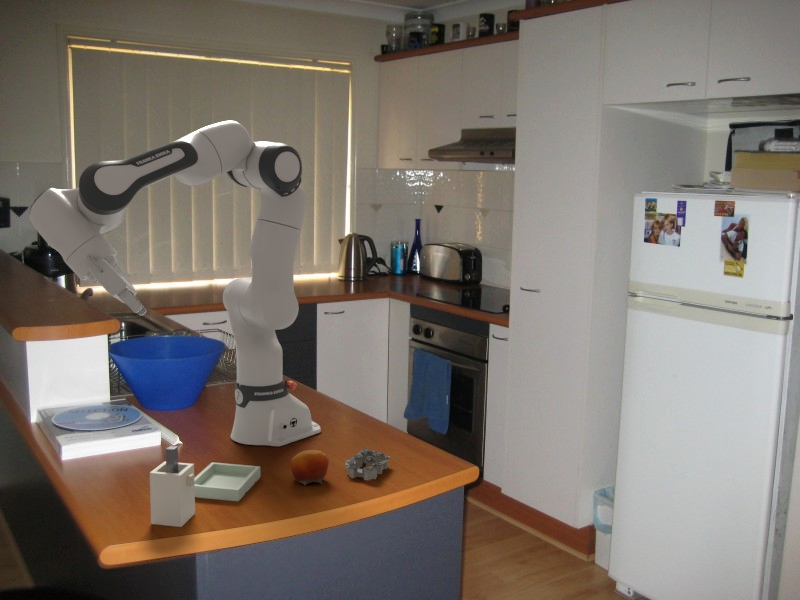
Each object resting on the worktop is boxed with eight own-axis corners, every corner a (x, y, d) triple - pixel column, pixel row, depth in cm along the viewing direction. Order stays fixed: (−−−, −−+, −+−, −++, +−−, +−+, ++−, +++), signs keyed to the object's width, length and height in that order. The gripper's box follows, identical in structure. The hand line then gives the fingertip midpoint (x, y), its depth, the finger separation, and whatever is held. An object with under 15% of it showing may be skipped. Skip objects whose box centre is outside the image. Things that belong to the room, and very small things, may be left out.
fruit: (299, 486, 164) (294, 448, 166) (290, 493, 170) (285, 456, 173) (337, 481, 167) (331, 444, 169) (326, 488, 174) (321, 451, 176)
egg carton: (372, 484, 171) (372, 465, 170) (341, 477, 174) (341, 459, 173) (393, 467, 180) (393, 450, 179) (363, 461, 183) (363, 444, 182)
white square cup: (165, 510, 154) (164, 461, 153) (199, 514, 153) (199, 464, 152) (151, 523, 148) (149, 472, 147) (186, 527, 147) (185, 476, 146)
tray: (212, 472, 174) (211, 462, 173) (260, 477, 172) (260, 466, 172) (186, 496, 161) (186, 485, 161) (238, 501, 159) (238, 490, 159)
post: (171, 516, 152) (169, 446, 150) (179, 517, 152) (177, 446, 149) (167, 520, 150) (165, 448, 148) (175, 520, 150) (173, 449, 148)
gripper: (99, 242, 150) (149, 297, 151) (113, 256, 170) (158, 305, 171) (71, 264, 148) (122, 319, 150) (89, 276, 168) (134, 325, 169)
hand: (141, 312), depth 160 cm, fingers open, 8 cm apart
